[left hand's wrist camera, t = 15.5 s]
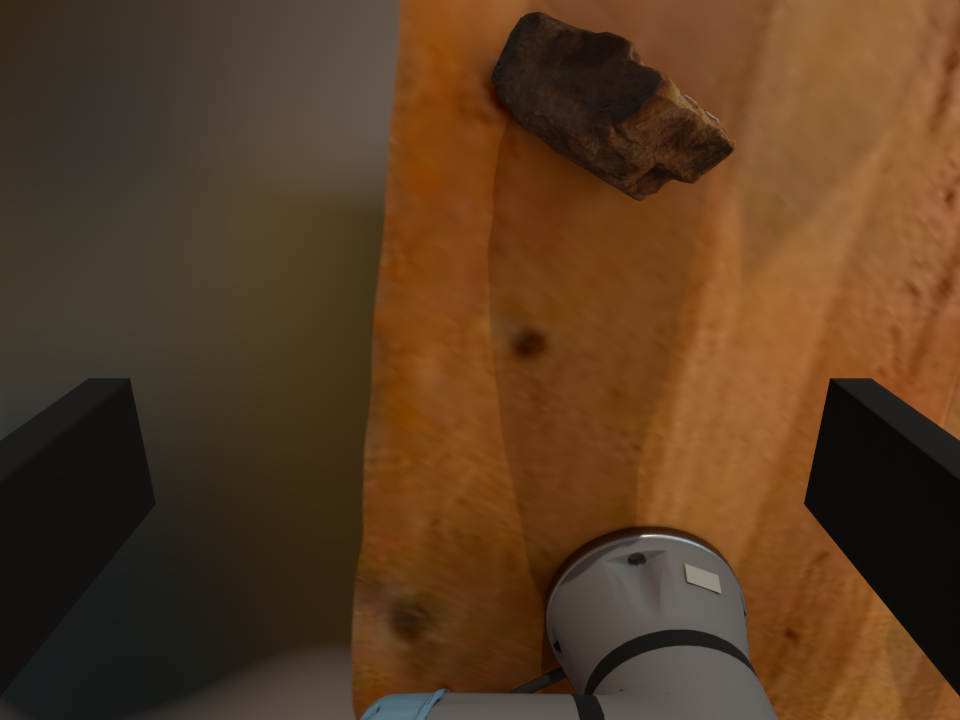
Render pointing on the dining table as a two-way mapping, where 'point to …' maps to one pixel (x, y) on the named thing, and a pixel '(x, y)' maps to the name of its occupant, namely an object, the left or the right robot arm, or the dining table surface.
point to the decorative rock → (606, 107)
